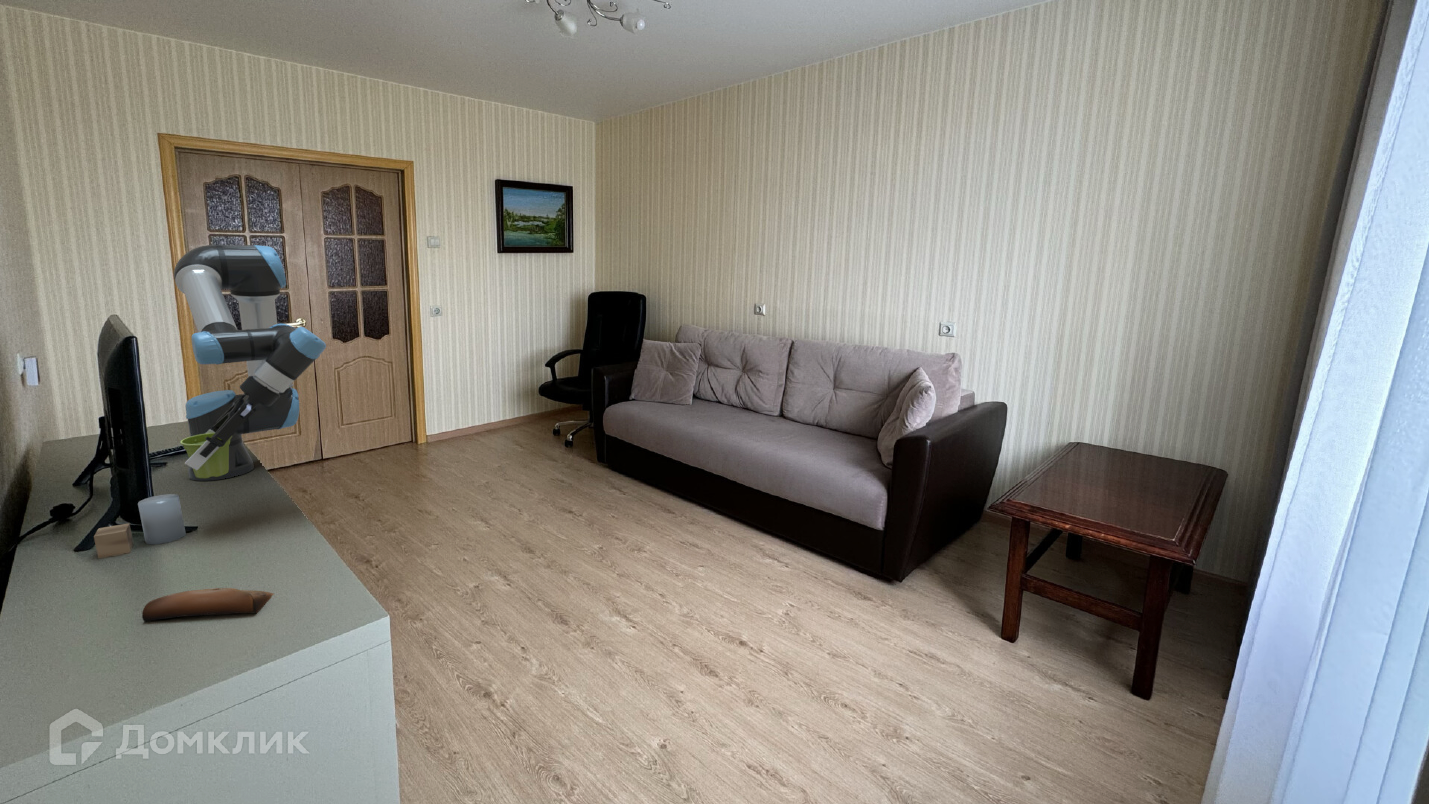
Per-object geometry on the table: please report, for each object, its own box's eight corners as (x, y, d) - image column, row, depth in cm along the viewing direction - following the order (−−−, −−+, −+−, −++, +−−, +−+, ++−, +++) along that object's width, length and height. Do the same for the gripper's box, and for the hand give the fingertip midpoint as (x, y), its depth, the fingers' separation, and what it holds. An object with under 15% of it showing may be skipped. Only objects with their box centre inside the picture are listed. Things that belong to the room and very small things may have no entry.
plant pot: (247, 468, 155) (242, 433, 153) (214, 482, 146) (208, 444, 144) (211, 466, 156) (205, 431, 154) (175, 480, 147) (168, 443, 145)
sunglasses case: (278, 591, 124) (265, 571, 120) (265, 625, 119) (251, 606, 115) (172, 598, 122) (155, 578, 117) (154, 634, 117) (135, 615, 112)
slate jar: (147, 535, 149) (140, 498, 147) (186, 528, 152) (180, 492, 150) (143, 547, 143) (135, 508, 141) (184, 539, 147) (177, 501, 145)
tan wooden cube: (103, 550, 142) (98, 528, 140) (133, 544, 144) (129, 523, 143) (98, 558, 137) (93, 536, 136) (129, 553, 140) (125, 531, 139)
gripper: (283, 403, 147) (206, 483, 142) (279, 386, 165) (211, 457, 160) (251, 382, 143) (170, 464, 138) (251, 367, 161) (179, 439, 155)
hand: (192, 460), depth 149 cm, fingers closed on plant pot, 9 cm apart
